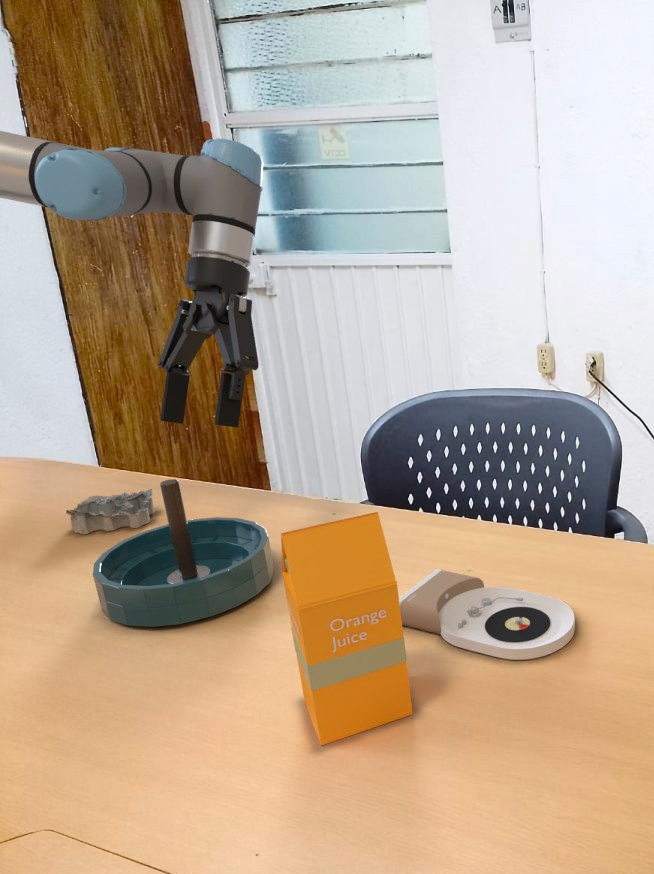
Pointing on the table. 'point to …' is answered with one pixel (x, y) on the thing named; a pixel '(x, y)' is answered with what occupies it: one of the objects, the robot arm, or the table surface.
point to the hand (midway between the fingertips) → (198, 424)
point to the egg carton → (112, 512)
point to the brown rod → (180, 535)
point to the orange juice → (346, 626)
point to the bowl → (155, 560)
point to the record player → (487, 616)
